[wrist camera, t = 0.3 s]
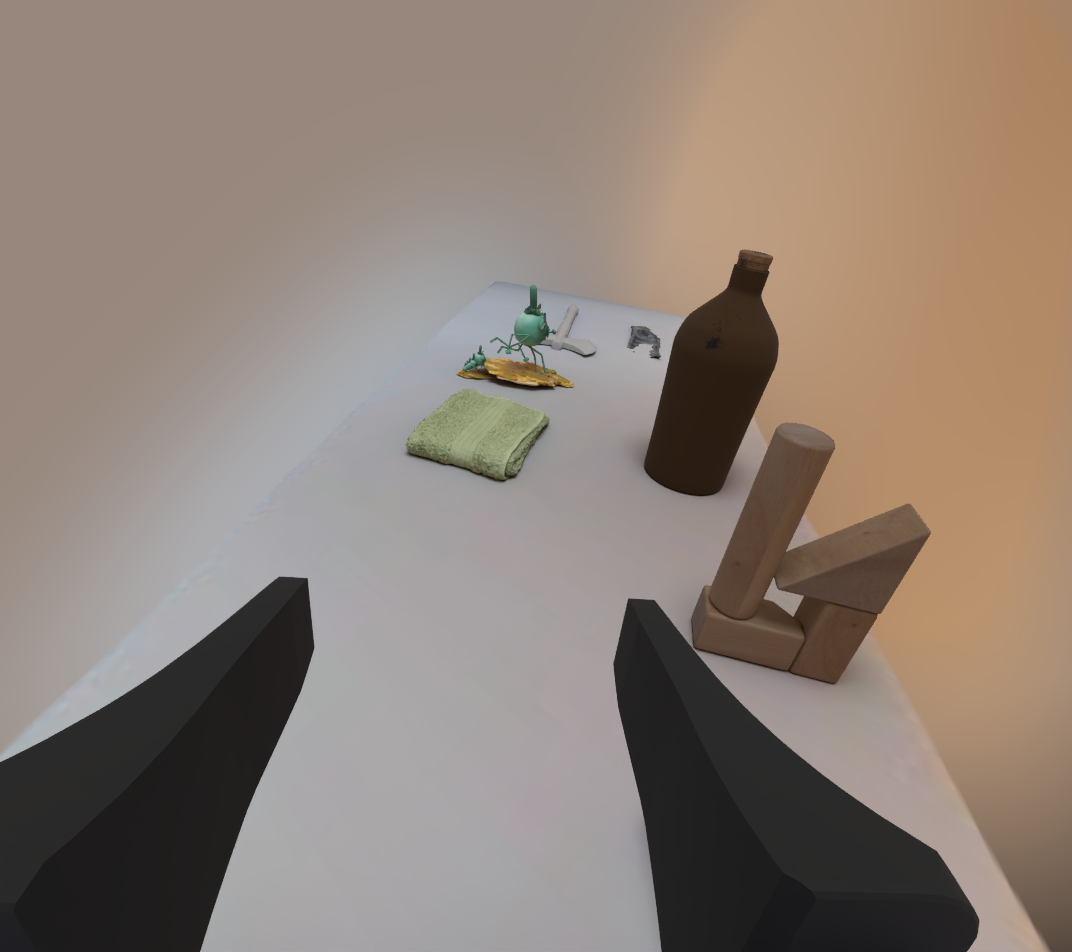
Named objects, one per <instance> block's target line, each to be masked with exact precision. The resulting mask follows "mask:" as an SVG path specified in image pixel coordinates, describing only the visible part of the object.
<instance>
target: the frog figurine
mask: <svg viewBox="0 0 1072 952" xmlns="http://www.w3.org/2000/svg"><path fill="white" fill-rule="evenodd" d="M540 309H541V304H539V306H538V308H537V288H536V286H534V285H532V286H531V287H530V306H529V307H528V308H526V309H525V311H524V313H522V314H521V315H520V316H519V317H518V318H517V320H516V323H515V327H514V332H515V334H512V335H511V338H510V342H509V346H508V345H507V344H506V343H504V342H503V341H502V340H500V339H499V338H498V337H496V338H495V339H493V340H491V341H490V343H492V342H493V341H495V340H496V339H498V340H499V341H501V342H502V343H503V344H505V345H506V346H507V347H504V346H501V348H500V349H499V351H498V352H497V353H499V352H500V351H501V349H502V348H506V349H508V350H506V354H511V351H510V350H515V351H519V350H521V352H522V349H521V347H522V345H525V346H528V347H529V348H531V351H532V353H533V355H534V357H535V354H534V352H533V350H534V351H535V352H537V353H538V354H540V355H541V358H542V362H543V367H544V368H543V367H540V366H539V365H536V357H535V358H534V360H535V364H534V363H529V362H527V361H528V360H529V358H527V357H526V358H525V356H524V354H523V352H522V355H523V357H524V358H525V359H523V360H524V361H525V362H526V363H520V362H513V361H512V360H509V359H505V358H503V359H502V358H498V359H492V358H491V359H488V358H485V356H484V353H482V352H481V349H482V346H481V345H480V347H479V352H478V354H477V355H476V356H475V354H473V358H472V360H471V358H469V362H468V361H467V364H466V363H465V366H464V367H463V370H460V369H459V370H460V372H457V374H458V375H460V376H462V377H465V378H478V379H479V378H480V379H484V378H485V379H486V378H490V379H493V377H490V376H488V375H487V374H483V373H482V372H480V371H479V370H480V369H481V368H482V366H483V367H485V368H486V370H487V371H488V372H489V373H491V374H495V375H497V378H499V379H502V380H508V381H511V382H514V383H517V384H523V385H530V386H538V385H542V386H546V385H547V386H553V387H554V386H555V385H562V386H565V387H574V386H572V384H574V383H572V382H570V381H568V380H567V379H565V378H563V377H561V376H559V375H557V374H556V373H557V372H556V371H555V370H550V369H547V368H545V365H544V360H543V355H542V354H541V353H540V352H538V351H536V350H535V349H533V348H532V347H531V346H536V345H538V344H540V343H541V342H542V341H544V340H546V337H547V338H548V336H549V333H553V334H556V331H555V330H554V329H553V330H552V332H549V331H550V329H549V326H547V324H548V323H547V322H546V313H544V314H543V313H542V311H541V310H540ZM542 315H543V316H544V317H543V316H542ZM513 335H515V336H516V339H517V340H518V341H519V343H517V344H514V345H512V346H510V344H511V340H512V336H513ZM520 343H522V344H521V345H519V344H520ZM516 345H518V346H519V349H518V350H517V349H512V348H511V347H513V346H516ZM509 349H510V350H509ZM476 366H477V367H478V366H481V368H480V369H479V370H477V371H476V370H473V371H472V370H471V369H472V368H473V369H477V367H476ZM467 370H470V371H467ZM554 384H555V385H554Z"/></svg>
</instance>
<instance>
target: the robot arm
mask: <svg viewBox="0 0 1072 952" xmlns="http://www.w3.org/2000/svg"><path fill="white" fill-rule="evenodd" d="M313 651H314V640H313V630H312V619H311V609H310V599H309V589H308V578H294V577H278V578H277V579H276V580H274V581H273V582H272V583H271V584H269V585H268V586H267V587H266V588H265V589H263V590H262V591H261V592H260V593H259V594H257V595H256V596H255V597H254V598H253V599H251V600H250V601H249V602H248V603H247V604H245V605H244V606H243V607H242V608H241V609H239V610H238V611H237V612H236V613H235V614H233V615H232V616H231V617H230V618H229V619H227V620H226V621H225V622H224V623H222V624H221V625H220V626H219V627H217V628H216V629H215V630H214V631H212V632H211V633H210V634H209V635H207V636H206V637H205V638H204V639H202V640H201V641H200V642H199V643H197V644H196V645H195V646H193V647H192V648H191V649H189V650H188V651H187V652H185V653H184V654H183V655H181V656H180V657H178V658H177V659H176V660H174V661H173V662H172V663H170V664H169V665H168V666H166V667H165V668H164V669H162V670H161V671H159V672H158V673H156V674H155V675H153V676H152V677H150V678H149V679H147V680H146V681H144V682H143V683H141V684H140V685H138V686H137V687H135V688H134V689H132V690H130V691H129V692H127V693H126V694H124V695H123V696H121V697H119V698H118V699H116V700H115V701H113V702H111V703H110V704H108V705H106V706H105V707H103V708H101V709H100V710H98V711H96V712H94V713H93V714H91V715H89V716H87V717H85V718H84V719H82V720H80V721H78V722H76V723H75V724H73V725H71V726H69V727H67V728H66V729H64V730H62V731H60V732H58V733H57V734H55V735H53V736H51V737H49V738H48V739H46V740H44V741H42V742H40V743H38V744H36V745H34V746H32V747H30V748H28V749H26V750H24V751H22V752H20V753H18V754H16V755H14V756H12V757H10V758H8V759H6V760H4V761H2V762H0V952H200V950H201V947H202V944H203V941H204V937H205V934H206V931H207V928H208V924H209V921H210V918H211V915H212V912H213V909H214V906H215V903H216V900H217V897H218V894H219V891H220V888H221V885H222V882H223V879H224V876H225V873H226V870H227V867H228V864H229V861H230V858H231V855H232V852H233V849H234V846H235V843H236V841H237V838H238V835H239V832H240V829H241V826H242V823H243V821H244V818H245V815H246V812H247V810H248V807H249V805H250V802H251V800H252V798H253V795H254V793H255V790H256V788H257V786H258V784H259V781H260V779H261V777H262V775H263V773H264V771H265V768H266V766H267V764H268V762H269V760H270V758H271V755H272V753H273V751H274V749H275V747H276V745H277V742H278V740H279V738H280V736H281V734H282V732H283V729H284V727H285V725H286V723H287V721H288V718H289V716H290V714H291V712H292V710H293V707H294V705H295V703H296V701H297V698H298V696H299V694H300V692H301V689H302V686H303V683H304V680H305V677H306V674H307V670H308V667H309V664H310V661H311V657H312V654H313ZM614 674H615V684H616V692H617V700H618V708H619V712H620V716H621V721H622V725H623V729H624V734H625V738H626V742H627V746H628V750H629V755H630V759H631V763H632V767H633V771H634V775H635V779H636V784H637V788H638V792H639V796H640V800H641V805H642V810H643V815H644V820H645V825H646V832H647V839H648V846H649V853H650V860H651V868H652V875H653V883H654V891H655V899H656V906H657V914H658V922H659V931H660V940H661V949H662V952H967V951H968V950H969V948H970V947H971V945H972V944H973V942H974V941H975V939H976V937H977V933H978V927H979V918H978V916H977V914H976V912H975V910H974V908H973V907H972V905H971V903H970V902H969V900H968V899H967V897H966V895H965V894H964V892H963V891H962V889H961V887H960V886H959V884H958V882H957V881H956V879H955V878H954V876H953V875H952V873H951V871H950V870H949V868H948V867H947V865H946V864H945V862H944V861H943V859H942V858H941V857H940V855H939V854H938V852H937V851H936V850H934V849H932V848H931V847H929V846H928V845H926V844H924V843H923V842H921V841H920V840H918V839H916V838H915V837H913V836H912V835H910V834H908V833H907V832H905V831H904V830H902V829H900V828H899V827H897V826H896V825H894V824H892V823H891V822H889V821H888V820H886V819H884V818H883V817H881V816H880V815H878V814H877V813H875V812H874V811H872V810H871V809H869V808H868V807H867V806H865V805H864V804H862V803H861V802H859V801H858V800H857V799H855V798H854V797H852V796H851V795H849V794H848V793H847V792H845V791H844V790H842V789H841V788H840V787H838V786H837V785H836V784H834V783H833V782H832V781H830V780H829V779H828V778H826V777H825V776H824V775H822V774H821V773H820V772H818V771H817V770H816V769H815V768H813V767H812V766H811V765H810V764H808V763H807V762H806V761H805V760H804V759H802V758H801V757H800V756H799V755H797V754H796V753H795V752H794V751H792V750H791V749H790V748H789V747H788V746H787V745H785V744H784V743H783V742H782V741H781V740H780V739H778V738H777V737H776V736H775V735H774V734H773V733H772V732H771V731H770V730H769V729H767V728H766V727H765V726H764V725H763V724H762V723H761V722H760V721H759V720H758V719H757V718H756V717H754V716H753V715H752V714H751V713H750V712H749V711H748V710H747V709H746V708H745V707H744V706H743V705H742V704H741V703H740V702H739V701H738V700H737V699H736V697H735V696H734V695H733V694H732V693H731V692H730V691H729V690H728V689H727V688H726V687H725V686H724V685H723V684H722V683H721V682H720V680H719V679H718V678H717V677H716V676H715V675H714V674H713V672H712V671H711V670H710V669H709V668H708V667H707V665H706V664H705V663H704V662H703V661H702V659H701V658H700V657H699V656H698V655H697V654H696V652H695V651H694V650H693V649H692V647H691V646H690V645H689V644H688V642H687V641H686V640H685V639H684V637H683V636H682V635H681V634H680V632H679V631H678V630H677V628H676V627H675V626H674V625H673V623H672V622H671V621H670V619H669V618H668V617H667V615H666V614H665V613H664V612H663V610H662V609H661V608H660V607H659V605H658V604H657V603H656V602H655V600H644V599H628V602H627V607H626V611H625V616H624V620H623V624H622V629H621V633H620V638H619V642H618V646H617V651H616V655H615V660H614Z"/></svg>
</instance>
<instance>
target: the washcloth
mask: <svg viewBox="0 0 1072 952" xmlns="http://www.w3.org/2000/svg"><path fill="white" fill-rule="evenodd" d="M547 424H549V417H548V416H547V415H545V414H543V413H542V412H541V411H539V410H536V409H532V408H529V407H525V406H522V405H520V404H517V403H515V402H513V401H511V400H508V399H506V398H503V397H492V396H487V395H484V394H482V393H480V392H478V391H476V390H474V389H464V390H462V391H461V392H457V393H456V394H455V393H454V394H452V395H451V396H450V398H449V400H446V401H445V403H443V404H442V405H441V406H440V407H439V408H437V409H436V411H433V413H432V414H430V415H429V417H426V418H424V420H423V421H422V422H420V424H419V425H418V426H417V427H415V429H414V431H413V432H412V433H411V435H410V436H409V438H408V442H407V444H405V445H407V449H408V451H409V453H412V454H414V455H419V456H424V457H427V458H431V459H433V460H436V461H440V463H444V464H450V463H451V464H454V465H457V466H460V467H466V468H468V469H471V470H472V471H473V472H475V473H480V472H481V473H482V474H483V475H485V476H487V475H488V476H490V477H491V478H495V479H498V480H500V479H501V480H506V479H508V478H509V477H510V475H511V476H513V475H515V474H516V473H518V470H519V469H520V468H521V465H522V462H523V460H524V458H525V455H526V454H527V453H528V451H529V449H530V446H531V445H532V444H534V443H535V439H537V438H536V437H537V436H538V434H540V433H539V432H541V430H542V428H543V427H544V426H545V425H547Z"/></svg>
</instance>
